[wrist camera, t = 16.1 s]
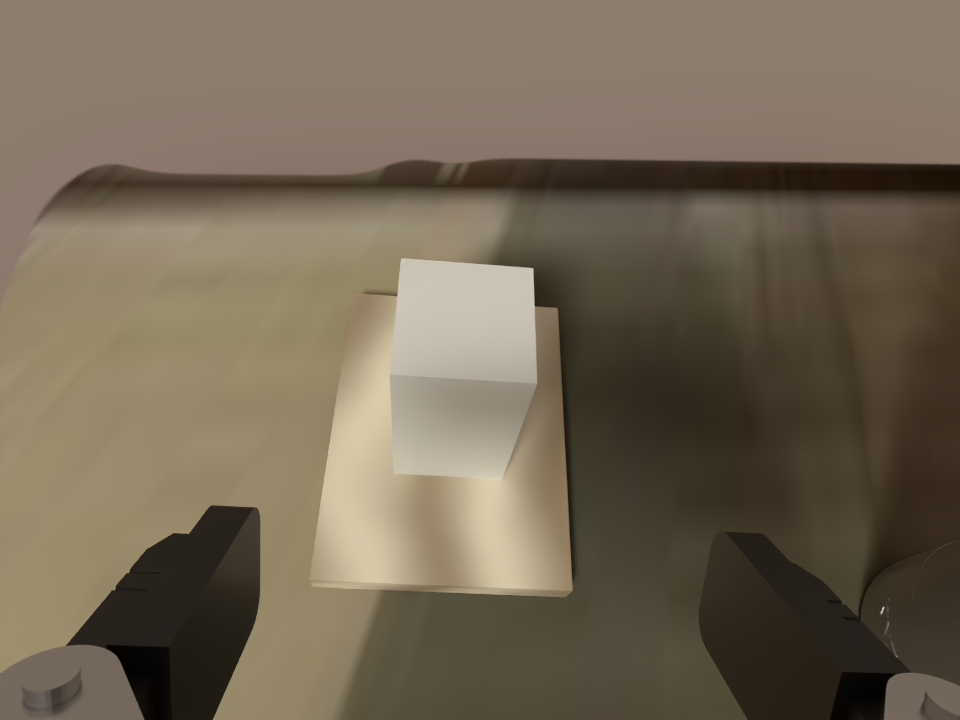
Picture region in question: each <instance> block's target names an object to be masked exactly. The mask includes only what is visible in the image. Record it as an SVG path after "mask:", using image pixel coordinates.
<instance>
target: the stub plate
mask: <svg viewBox="0 0 960 720" xmlns="http://www.w3.org/2000/svg"><path fill="white" fill-rule="evenodd" d="M396 305H397V296H387V295H374V294H360V293H352V298H351V304H350V311H349V318H348V324H347V331H346V338H345V345H344V351H343V358H342V365H341V371H340V378H339V385H338V391H337V398H336V405H335V411H334V418H333V425H332V431H331V438H330V445H329V452H328V458H327V465H326V472H325V478H324V485H323V492H322V498H321V505H320V512H319V518H318V525H317V532H316V538H315V545H314V552H313V559H312V565H311V572H310V579H309V581H310V582H311V584H312V586H313V587H323V588H348V589H373V590H398V591H424V592H449V593H474V594H499V595H524V596H549V597H566V596H568V595H569V594H570V593H571V592H572V591H573V589H572V570H571V550H570V531H569V512H568V493H567V474H566V455H565V436H564V417H563V398H562V379H561V360H560V341H559V322H558V308H550V307H536V306H535V332H536V360H537V386H536V389H535V391H534V394H533V397H532V400H531V402H530V405H529V408H528V410H527V413H526V416H525V419H524V421H523V424H522V427H521V430H520V432H519V435H518V438H517V441H516V443H515V446H514V449H513V451H512V454H511V457H510V460H509V462H508V465H507V468H506V471H505V473H504V476H503V479H491V478H471V477H450V476H430V475H410V474H394V465H393V442H392V418H391V395H390V366H391V356H392V346H393V336H394V326H395V315H396Z"/></svg>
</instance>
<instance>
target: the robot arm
mask: <svg viewBox="0 0 960 720" xmlns="http://www.w3.org/2000/svg"><path fill="white" fill-rule="evenodd" d="M259 597H260V515H259V511H258V509H257V508H256V507H235V506H215V505H212V506H210V507H209V508H208V509H207V511H206V512H205V513H204V515H203V516H202V517H201V519H200V520H199V521H198V523H197V524H196V525H195V527H194V528H193V529H192V531H191V532H190V533H189V534H178V533H173V534H172V535H170V536H168V537H167V538H165V539H163V540H162V541H160V542H158V543H157V544H155V545H153V546H152V547H150V548H148V549H147V550H146V551H145V552H144V553H143V554H142V556H141V557H140V558H139V559H138V560H137V561H136V563H135V564H134V565H133V566H132V567H131V569H130V572H129V573H126V575H125V576H124V577H123V578H122V579H121V581H120V582H119V583H118V584H117V585H116V589H115V591H114V590H112V591H111V593H110V594H109V595H108V596H107V597H106V599H105V600H104V601H103V602H102V603H101V605H100V606H99V607H98V608H97V609H96V610H95V612H94V613H93V614H92V615H91V616H90V618H89V619H88V620H87V621H86V622H85V624H84V625H83V626H82V627H81V628H80V630H79V631H78V632H77V633H76V634H75V636H74V637H73V638H72V639H71V640H70V642H69V643H68V644H67V645H66V646H63V647H58V648H53V649H50V650H46V651H43V652H40V653H37V654H35V655H32V656H30V657H28V658H25V659H23V660H21V661H19V662H17V663H16V664H14V665H12V666H10V667H9V668H7V669H6V670H5V671H3V672H2V673H0V720H213V718H214V715H215V713H216V711H217V709H218V706H219V704H220V702H221V699H222V697H223V695H224V693H225V690H226V688H227V686H228V684H229V681H230V679H231V677H232V674H233V672H234V670H235V668H236V665H237V663H238V661H239V658H240V656H241V654H242V652H243V649H244V647H245V645H246V643H247V640H248V638H249V636H250V633H251V631H252V629H253V626H254V623H255V619H256V615H257V611H258V605H259ZM699 626H700V632H701V636H702V640H703V642H704V645H705V647H706V649H707V650H708V652H709V654H710V656H711V657H712V659H713V661H714V663H715V664H716V666H717V668H718V669H719V671H720V673H721V675H722V676H723V678H724V680H725V681H726V683H727V685H728V687H729V688H730V690H731V692H732V694H733V695H734V697H735V699H736V700H737V702H738V704H739V706H740V707H741V709H742V711H743V713H744V714H745V716H746V718H747V719H748V720H960V539H959V540H956V541H953V542H950V543H947V544H945V545H942V546H939V547H937V548H934V549H931V550H929V551H926V552H923V553H920V554H918V555H915V556H912V557H910V558H907V559H904V560H901V561H899V562H897V563H895V564H893V565H891V566H889V567H887V568H885V569H884V570H882V571H881V572H880V573H879V574H878V575H877V576H876V577H875V578H874V579H873V581H872V582H871V584H870V586H869V588H868V589H867V591H866V593H865V596H864V600H863V604H862V607H861V618H860V622H859V621H858V617H857V616H856V615H855V614H854V613H853V612H852V611H851V610H850V609H849V608H848V607H847V606H846V605H842V603H841V600H840V599H839V598H838V597H837V596H836V595H835V594H834V593H833V592H832V591H831V589H830V588H829V587H828V586H827V585H826V584H825V583H824V582H823V581H822V580H820V579H818V578H817V577H815V576H814V575H812V574H810V573H809V572H807V571H806V570H804V569H802V568H801V567H799V566H798V565H796V564H794V563H791V562H790V561H789V560H788V559H787V558H786V557H785V556H784V555H783V554H782V553H781V552H780V551H779V550H778V548H777V547H776V546H775V545H774V544H773V543H772V542H771V541H770V540H769V539H768V538H767V537H766V536H765V535H763V534H758V533H738V532H719V533H717V534H716V535H715V537H714V539H713V541H712V545H711V550H710V555H709V560H708V566H707V571H706V576H705V582H704V587H703V592H702V597H701V603H700V608H699Z"/></svg>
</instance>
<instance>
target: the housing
mask: <svg viewBox="0 0 960 720" xmlns="http://www.w3.org/2000/svg"><path fill="white" fill-rule="evenodd" d="M536 386H537V360H536V332H535V303H534V275H533V268H523V267H510V266H497V265H483V264H470V263H457V262H443V261H430V260H417V259H403V258H401V265H400V275H399V285H398V295H397V305H396V315H395V326H394V336H393V346H392V356H391V366H390V395H391V418H392V442H393V465H394V474H410V475H430V476H450V477H471V478H491V479H503V476H504V473H505V471H506V468H507V465H508V462H509V460H510V457H511V454H512V451H513V449H514V446H515V443H516V441H517V438H518V435H519V432H520V430H521V427H522V424H523V421H524V419H525V416H526V413H527V410H528V408H529V405H530V402H531V400H532V397H533V394H534V391H535V389H536Z"/></svg>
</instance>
